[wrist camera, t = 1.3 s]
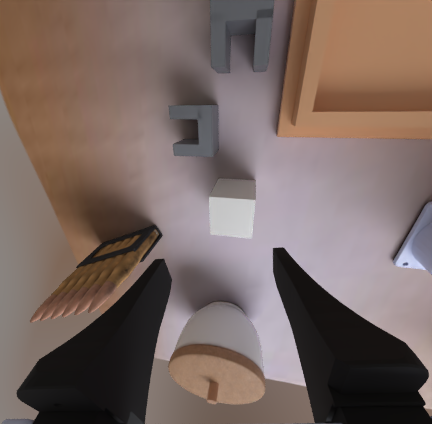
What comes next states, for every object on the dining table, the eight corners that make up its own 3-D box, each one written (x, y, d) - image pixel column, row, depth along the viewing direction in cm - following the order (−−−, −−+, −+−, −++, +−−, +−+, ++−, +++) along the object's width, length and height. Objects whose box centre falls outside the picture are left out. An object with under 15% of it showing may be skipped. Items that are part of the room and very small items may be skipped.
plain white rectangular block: (255, 180, 20) (255, 199, 16) (252, 213, 22) (251, 238, 18) (218, 178, 21) (209, 196, 17) (218, 210, 23) (210, 234, 19)
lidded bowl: (186, 326, 36) (161, 405, 27) (191, 281, 30) (161, 362, 20) (252, 344, 35) (251, 433, 26) (272, 301, 29) (280, 398, 19)
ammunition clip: (109, 252, 30) (32, 328, 20) (101, 243, 30) (17, 317, 19) (163, 235, 26) (103, 318, 16) (156, 224, 26) (88, 304, 15)
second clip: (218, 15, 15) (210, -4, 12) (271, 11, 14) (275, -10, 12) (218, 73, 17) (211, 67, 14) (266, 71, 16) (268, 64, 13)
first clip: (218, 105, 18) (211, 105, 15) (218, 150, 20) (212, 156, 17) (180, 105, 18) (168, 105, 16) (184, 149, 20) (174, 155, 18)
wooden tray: (684, -230, 8) (877, -381, 6) (468, 138, 16) (510, 144, 13) (314, -152, 11) (333, -233, 8) (276, 135, 18) (279, 140, 15)
